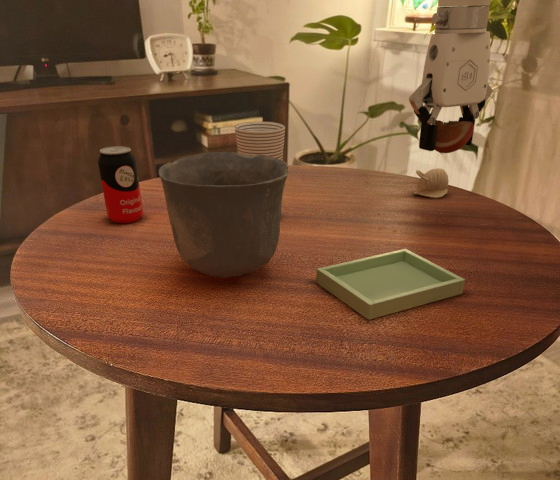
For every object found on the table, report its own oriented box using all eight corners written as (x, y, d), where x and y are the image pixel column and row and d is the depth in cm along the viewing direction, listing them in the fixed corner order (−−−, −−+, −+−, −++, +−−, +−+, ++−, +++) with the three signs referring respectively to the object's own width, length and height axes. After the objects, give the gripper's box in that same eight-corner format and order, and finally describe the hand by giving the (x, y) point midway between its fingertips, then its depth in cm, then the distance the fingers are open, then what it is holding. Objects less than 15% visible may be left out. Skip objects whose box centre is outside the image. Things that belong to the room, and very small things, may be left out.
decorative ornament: (452, 196, 113) (457, 168, 110) (416, 200, 111) (420, 172, 108) (441, 190, 116) (445, 163, 113) (406, 194, 114) (409, 167, 111)
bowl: (316, 273, 82) (320, 167, 74) (223, 313, 72) (215, 195, 63) (237, 241, 92) (232, 145, 84) (145, 272, 82) (130, 166, 74)
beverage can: (103, 224, 100) (89, 153, 93) (115, 212, 105) (104, 145, 98) (137, 225, 99) (126, 154, 92) (148, 214, 104) (139, 145, 98)
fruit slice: (412, 152, 94) (415, 120, 91) (429, 145, 98) (433, 114, 96) (460, 158, 90) (465, 124, 87) (476, 150, 94) (481, 118, 91)
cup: (292, 214, 104) (293, 123, 95) (271, 228, 98) (270, 132, 89) (252, 207, 107) (250, 119, 99) (229, 220, 101) (224, 128, 92)
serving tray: (403, 261, 85) (405, 248, 84) (462, 293, 76) (465, 279, 75) (316, 282, 79) (316, 268, 78) (368, 320, 70) (369, 304, 69)
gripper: (433, 23, 78) (418, 157, 87) (522, 19, 84) (500, 144, 94) (399, 23, 83) (389, 149, 93) (485, 19, 90) (468, 137, 100)
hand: (445, 146), depth 93 cm, fingers closed on fruit slice, 7 cm apart
